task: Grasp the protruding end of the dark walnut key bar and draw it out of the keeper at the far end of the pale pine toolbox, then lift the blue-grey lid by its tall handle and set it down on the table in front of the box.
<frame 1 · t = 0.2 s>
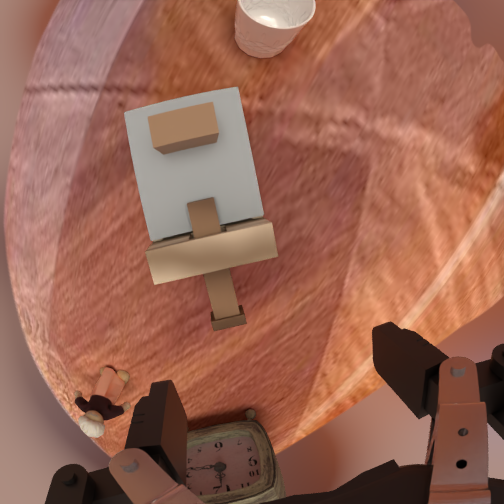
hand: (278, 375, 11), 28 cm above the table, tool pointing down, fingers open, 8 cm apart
tabletop clock: (221, 428, 45), on the table
grandmother figurine: (111, 374, 40), on the table
key bar: (215, 264, 29), point 9 cm above the table, slide at 0.0 cm
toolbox: (198, 179, 36), on the table
lid: (192, 161, 29), point 7 cm above the table, touching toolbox
white cup: (260, 37, 33), on the table
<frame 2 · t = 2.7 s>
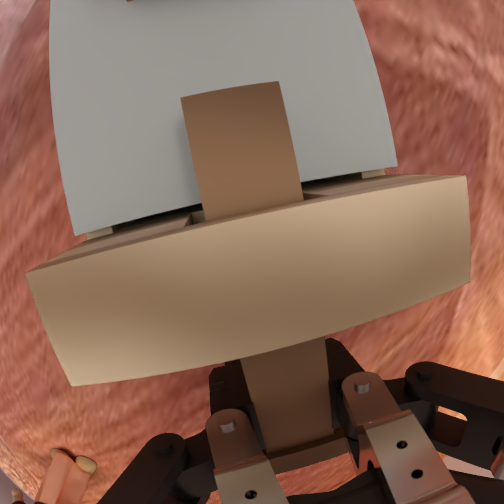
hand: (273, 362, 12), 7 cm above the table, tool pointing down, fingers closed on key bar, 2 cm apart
grandmother figurine: (68, 458, 20), on the table
key bar: (271, 309, 9), point 9 cm above the table, slide at 0.0 cm, touching gripper
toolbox: (209, 108, 16), on the table
lid: (204, 24, 9), point 7 cm above the table, touching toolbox
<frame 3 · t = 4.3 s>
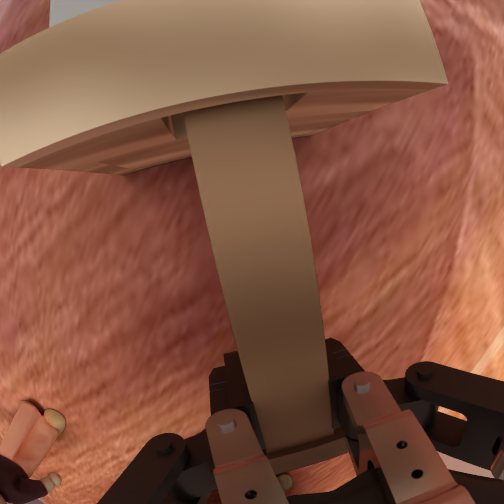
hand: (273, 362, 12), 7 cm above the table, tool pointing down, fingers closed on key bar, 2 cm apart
grandmother figurine: (37, 413, 19), on the table
key bar: (271, 309, 9), point 9 cm above the table, slide at 5.5 cm, touching gripper
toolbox: (193, 27, 15), on the table
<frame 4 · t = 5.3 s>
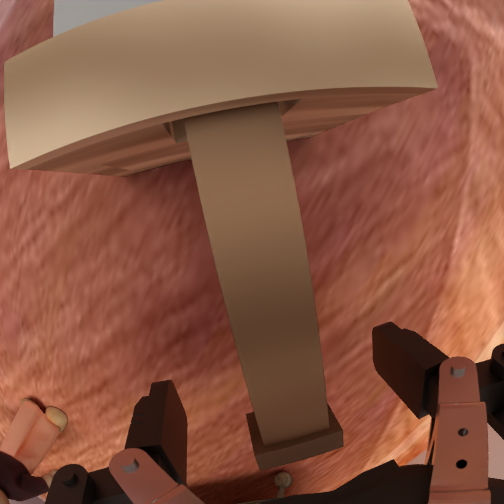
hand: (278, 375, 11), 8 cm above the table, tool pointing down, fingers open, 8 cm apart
tabletop clock: (231, 498, 23), on the table
grandmother figurine: (39, 411, 19), on the table
key bar: (267, 306, 9), point 9 cm above the table, slide at 5.5 cm
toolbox: (193, 31, 15), on the table
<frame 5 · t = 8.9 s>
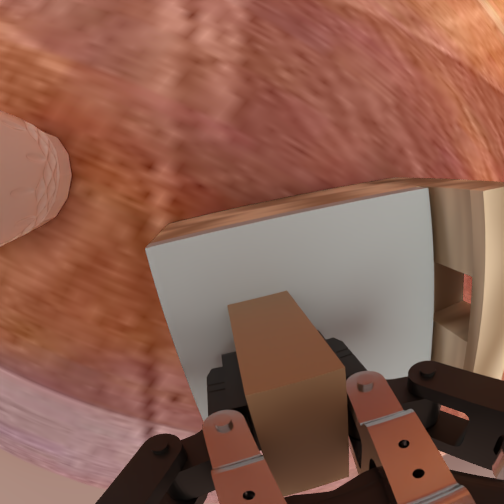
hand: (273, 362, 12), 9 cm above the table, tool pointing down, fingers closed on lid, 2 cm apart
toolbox: (305, 276, 22), on the table
lid: (315, 325, 15), point 7 cm above the table, touching gripper, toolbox
white cup: (33, 179, 18), on the table
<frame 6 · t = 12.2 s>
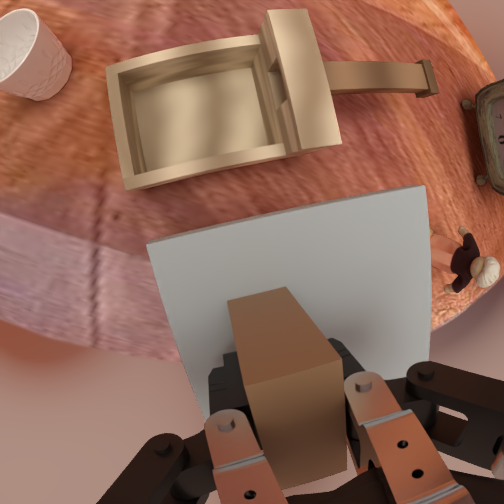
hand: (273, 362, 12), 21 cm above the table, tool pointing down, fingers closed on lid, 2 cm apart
tabletop clock: (481, 141, 35), on the table
grandmother figurine: (424, 249, 36), on the table
key bar: (375, 77, 22), point 9 cm above the table, slide at 5.5 cm
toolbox: (209, 118, 30), on the table
lid: (314, 321, 15), point 19 cm above the table, touching gripper
white cup: (48, 74, 26), on the table
when the fingers open (3 cm above the table, at t = 15.5 s): lid drops 1 cm, on the table.
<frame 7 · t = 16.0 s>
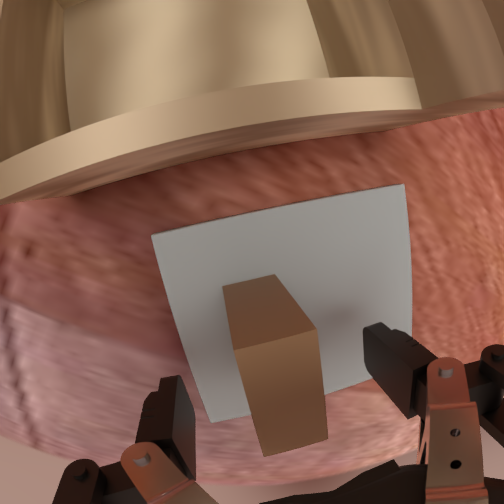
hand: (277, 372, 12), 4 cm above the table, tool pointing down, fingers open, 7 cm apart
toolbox: (210, 46, 13), on the table
lid: (301, 307, 17), on the table
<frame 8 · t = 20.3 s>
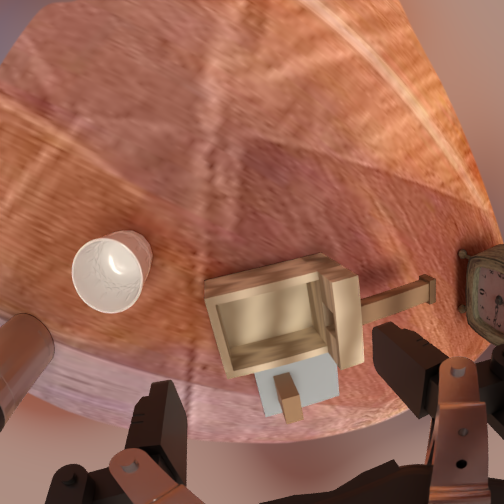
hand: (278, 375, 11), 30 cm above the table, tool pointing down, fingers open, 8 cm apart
tabletop clock: (468, 276, 48), on the table
key bar: (393, 301, 36), point 9 cm above the table, slide at 5.5 cm
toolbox: (271, 304, 43), on the table
lid: (297, 378, 47), on the table
white cup: (128, 255, 39), on the table
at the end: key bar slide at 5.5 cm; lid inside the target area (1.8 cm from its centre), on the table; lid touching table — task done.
